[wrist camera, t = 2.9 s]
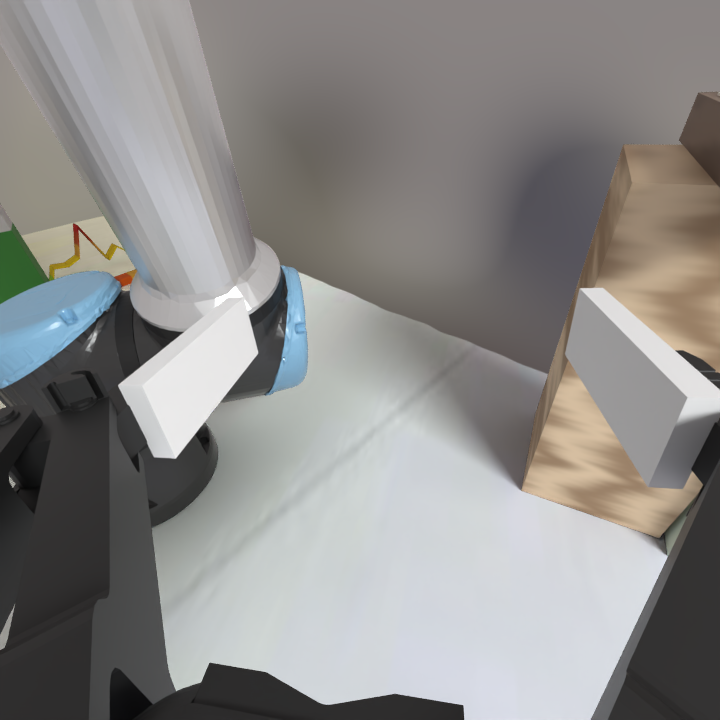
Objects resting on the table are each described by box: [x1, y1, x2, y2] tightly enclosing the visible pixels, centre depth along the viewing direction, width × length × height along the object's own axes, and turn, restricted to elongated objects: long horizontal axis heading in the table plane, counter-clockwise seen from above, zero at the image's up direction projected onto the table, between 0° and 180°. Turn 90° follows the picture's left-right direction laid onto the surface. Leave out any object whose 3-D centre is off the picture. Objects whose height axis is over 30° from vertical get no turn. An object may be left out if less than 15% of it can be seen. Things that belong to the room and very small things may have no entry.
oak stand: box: [521, 145, 720, 538], centre depth 32 cm, size 12×12×30 cm
